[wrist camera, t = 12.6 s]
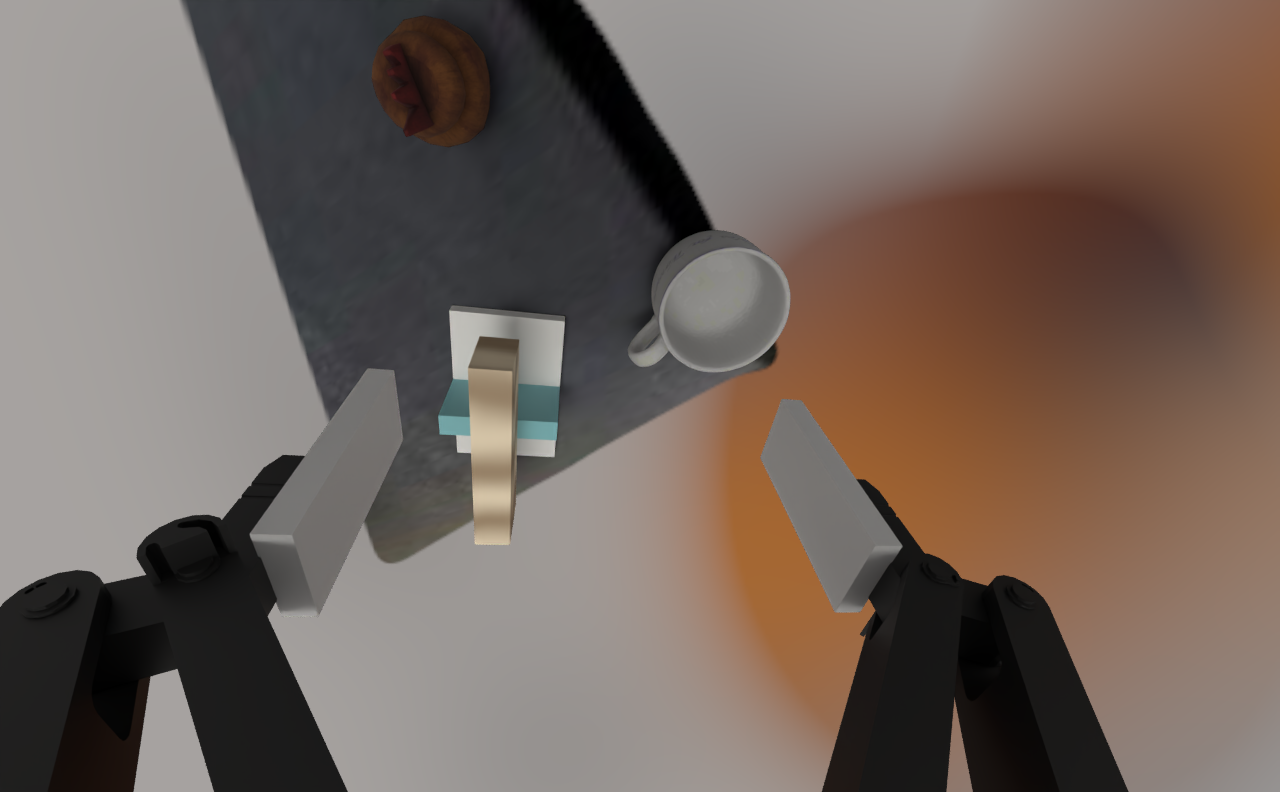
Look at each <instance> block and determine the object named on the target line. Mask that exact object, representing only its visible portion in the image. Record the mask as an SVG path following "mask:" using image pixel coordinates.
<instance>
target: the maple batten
mask: <svg viewBox="0 0 1280 792" xmlns="http://www.w3.org/2000/svg"><path fill="white" fill-rule="evenodd" d="M518 379H519V339H508V338H496V337H485V336H480V337H479V339H478V342H477V345H476V347H475V350H474V353H473V355H472V358H471V361H470V364H469V366H468V386H469V410H470V434H471V459H472V483H473V507H474V531H475V544H483V545H484V544H485V545H510V541H511V534H512V527H513V520H514V512H515V505H516V468H517V424H518Z"/></svg>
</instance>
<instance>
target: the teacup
mask: <svg viewBox="0 0 1280 792" xmlns="http://www.w3.org/2000/svg"><path fill="white" fill-rule="evenodd" d="M651 296H652V305H653V310H654V313H655V314H654V315H653V317H652V318H651V320H650V321H649V322H648V323H647V324H646V325H645V326H644V327H643V328H642V329H641V330H640V331H639V332H638V334H637V335H636V336H635V337H634V338H633V340H632V341H631V343H630V345H629V347H628V354H629V357H630V359H631V360H632V361H633V362H634V363H635V364H636V365H638V366H640V367H648V366H651V365H653V364H655V363H657V362H658V361H659V360H661V359H662V358H663V357H664V356H665V355H666V353H667V352H668V351H670V353H671V354H672V355H673V356H674V357H675V358H676V359H677V360H679V361H680V362H682V363H683V364H685V365H686V366H688V367H690V368H693V369H696V370H699V371H704V372H724V371H729V370H733V369H737V368H740V367H742V366H745V365H747V364H749V363H750V362H752V361H754V360H756V359H757V358H759V357H760V356H761V355H762V354H764V353H765V352H766V351H767V350H768V349H769V348H770V347H771V346H772V345H773V343H774V342H775V341H776V340H777V338H778V337H779V335H780V334H781V332H782V330H783V328H784V326H785V324H786V321H787V319H788V315H789V309H790V290H789V284H788V281H787V278H786V277H785V274H784V273H783V271H782V269H781V268H780V266H779V265H778V264H777V263H776V262H775V261H774V260H773V259H772V258H771V257H769V256H768V255H766V254H765V253H763V252H762V251H761V250H759V249H758V248H757V247H756V246H754V245H753V244H752V243H751V242H749V241H748V240H746V239H745V238H743V237H741V236H739V235H737V234H734V233H731V232H726V231H718V230H711V231H704V232H699V233H696V234H693V235H691V236H688V237H687V238H685V239H683V240H681V241H680V242H678V243H677V244H676V245H675V246H673V247H672V248H671V249H670V250H669V251H668V252H667V253H666V255H665V256H664V257H663V259H662V260H661V262H660V263H659V265H658V267H657V270H656V272H655V275H654V278H653V283H652V292H651ZM657 335H658V337H657V339H656V340H655V342H654V343H653V344H652V345H651V346H650V347H649V348H647V349H645V348H646V347H647V346H648V344H649V343H650V342H651V341H652V340H653V339H654V338H655V337H656V336H657Z"/></svg>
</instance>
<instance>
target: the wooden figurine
mask: <svg viewBox="0 0 1280 792" xmlns="http://www.w3.org/2000/svg"><path fill="white" fill-rule="evenodd" d="M372 82H373V86H374V89H375V93H376V96H377V98H378V100H379V101H380V103H381V105H382V107H383V109H384V111H385V112H386V113H387V114H388V116H389V117H390V118H391V119H392V120H393V121H394V122H395V124H396V125H397V126H399V127H401V128H402V129H403V131H404V133H405V136H406V137H408V136H411V135H414V136H416V137H418V138H420V139H422V140H424V141H425V142H427V143H429V144H433V145H439V146H445V147H451V146H455V145H459V144H463V143H466V142H469V141H470V140H471V139H472V138H474V137H475V136H476V135H477V134H478V133H479V132H481V131H482V130H483V129H484V127H485V123H486V119H487V115H488V111H489V104H490V80H489V72H488V68H487V64H486V60H485V56H484V53H483V52H482V51H481V49H480V48H479V47H478V45H477V44H476V43H475V42H474V40H473V39H472V38H471V36H470V35H469V34H467V33H466V32H464V31H462V30H461V29H459V28H457V27H456V26H454V25H453V24H451V23H449V22H448V21H445V20H443V19H438V18H433V17H427V16H420V17H415V18H410V19H406V20H403V21H402V22H401V24H400V25H399V26H398V27H397V28H396V29H395V30H394V31H393V32H392V34H391V35H389V36H388V37H387V38H386V39H385V40H384V41H383V43H382V44H381V45H380V46H379V47H378V50H377V53H376V56H375V59H374V62H373V68H372Z"/></svg>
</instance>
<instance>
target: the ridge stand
mask: <svg viewBox="0 0 1280 792" xmlns="http://www.w3.org/2000/svg"><path fill="white" fill-rule="evenodd" d="M449 313H450V331H451V348H452V366H453V381H452V383H451V386H450V388H449V391H448V393H447V396H446V398H445V400H444V403H443V405H442V408H441V410H440V413H439V415H438V417H439V429H440V434H445V435H457V452H459V453H471V434H470V410H469V386H468V366H469V364H470V361H471V358H472V355H473V353H474V350H475V347H476V345H477V342H478V339H479V337H480V336H485V337H496V338H508V339H519V379H518V424H517V455H522V456H544V457H554V454H555V441H556V439H557V427H558V410H559V391H560V377H561V364H562V351H563V339H564V326H565V316H558V315H548V314H538V313H528V312H517V311H507V310H497V309H486V308H476V307H466V306H456V305H452V307H451V308H450V310H449Z"/></svg>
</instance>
